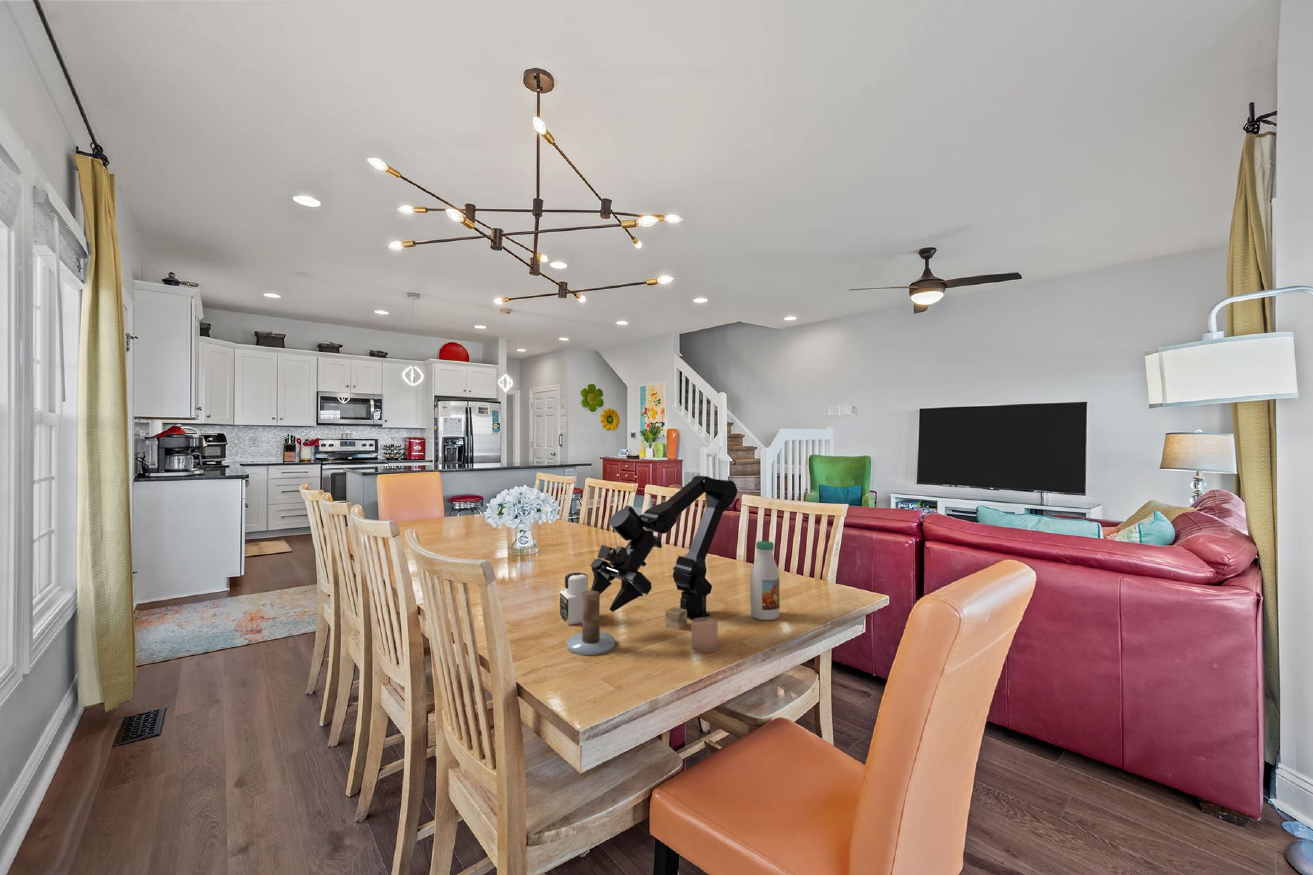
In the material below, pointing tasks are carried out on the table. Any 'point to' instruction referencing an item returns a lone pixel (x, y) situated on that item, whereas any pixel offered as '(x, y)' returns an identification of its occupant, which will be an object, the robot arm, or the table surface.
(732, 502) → the robot arm
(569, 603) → the medicine bottle
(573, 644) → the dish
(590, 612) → the brown cylinder
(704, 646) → the short mauve cylinder
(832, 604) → the table surface
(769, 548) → the milk bottle
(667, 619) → the oak block
